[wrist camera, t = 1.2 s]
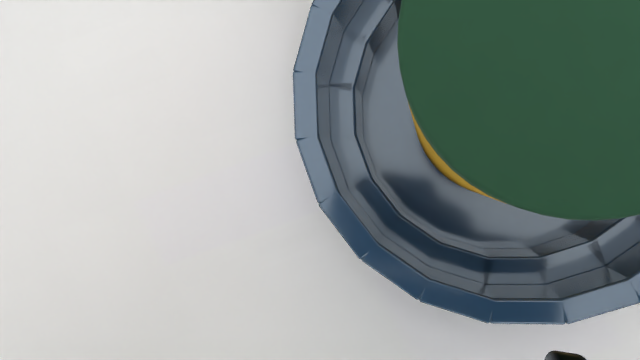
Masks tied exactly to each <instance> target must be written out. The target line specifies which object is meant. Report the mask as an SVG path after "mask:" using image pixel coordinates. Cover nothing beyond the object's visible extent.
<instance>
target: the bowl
mask: <svg viewBox="0 0 640 360" xmlns="http://www.w3.org/2000/svg"><path fill="white" fill-rule="evenodd" d="M401 1H402V0H314V1H313V2H312V6H311V8H310V11H309V15H308V18H307V22H306V26H305V29H304V33H303V36H302V40H301V44H300V47H299V51H298V55H297V58H296V62H295V65H294V69H293V70H294V72H293V94H294V123H295V139H296V143H297V146H298V149H299V152H300V155H301V157H302V160H303V163H304V166H305V169H306V172H307V174H308V177H309V180H310V183H311V186H312V188H313V191H314V194H315V197H316V200H317V202H318V203H319V206H320V208H321V209H322V210H323V212H324V213H325V214H326V216H327V217H328V218H329V220H330V221H331V222H332V224H333V225H334V226H335V228H336V229H337V230H338V231H339V233H340V234H341V235H342V237H343V238H344V239H345V241H346V242H347V243H348V245H349V246H350V247H351V249H352V250H353V251H354V252H355V254H356V255H357V256H358V258H359V259H361V260H362V261H363V262H364V263H366V264H367V265H368V266H370V267H371V268H373V269H374V270H376V271H377V272H378V273H380V274H381V275H383V276H384V277H385V278H387V279H388V280H390V281H391V282H393V283H394V284H395V285H397V286H398V287H400V288H401V289H402V290H404V291H405V292H407V293H408V294H410V295H411V296H412V297H414V298H415V299H417V300H420V302H423V303H426V304H429V305H432V306H435V307H438V308H442V309H445V310H448V311H451V312H454V313H457V314H460V315H463V316H466V317H469V318H473V319H476V320H479V321H482V322H485V323H492V324H556V325H563V324H565V323H567V324H570V323H574V322H577V321H580V320H584V319H587V318H591V317H594V316H597V315H601V314H604V313H607V312H611V311H614V310H618V309H621V308H624V307H628V306H631V305H634V304H638V303H640V215H635V216H630V217H625V218H620V219H608V220H595V221H592V220H569V219H562V218H556V217H550V216H544V215H540V214H537V213H533V212H530V211H527V210H523V209H520V208H517V207H514V206H511V205H509V204H506V203H503V202H501V201H498V200H495V199H492V198H490V197H487V196H484V195H481V194H479V193H476V192H473V191H471V190H468V189H466V188H464V187H461V186H459V185H458V184H456V183H454V182H453V181H451V180H449V179H448V178H447V177H446V176H444V175H443V174H442V173H441V172H440V171H439V170H438V169H437V168H436V167H435V166H434V165H433V164H432V162H431V161H430V160H429V158H428V157H427V155H426V153H425V152H424V150H423V148H422V146H421V144H420V141H419V138H418V136H417V132H416V129H415V125H414V122H413V118H412V114H411V111H410V107H409V104H408V100H407V97H406V93H405V89H404V85H403V81H402V77H401V72H400V67H399V57H398V47H397V40H398V20H399V13H400V7H401Z"/></svg>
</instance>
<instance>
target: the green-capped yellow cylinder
mask: <svg viewBox="0 0 640 360" xmlns="http://www.w3.org/2000/svg"><path fill="white" fill-rule="evenodd" d="M397 47H398V57H399V67H400V72H401V77H402V81H403V85H404V89H405V93H406V97H407V100H408V104H409V107H410V111H411V114H412V118H413V122H414V125H415V129H416V132H417V136H418V138H419V141H420V144H421V146H422V148H423V150H424V152H425V153H426V155H427V157H428V158H429V160H430V161H431V162H432V164H433V165H434V166H435V167H436V168H437V169H438V170H439V171H440V172H441V173H442V174H443V175H444V176H446V177H447V178H448V179H449V180H451V181H453V182H454V183H456V184H458V185H459V186H461V187H464V188H466V189H468V190H471V191H473V192H476V193H479V194H481V195H484V196H487V197H490V198H492V199H495V200H498V201H501V202H503V203H506V204H509V205H511V206H514V207H517V208H520V209H523V210H527V211H530V212H533V213H537V214H540V215H544V216H550V217H556V218H562V219H569V220H592V221H595V220H608V219H620V218H625V217H630V216H635V215H640V0H402V1H401V7H400V13H399V20H398V40H397Z"/></svg>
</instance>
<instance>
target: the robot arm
mask: <svg viewBox="0 0 640 360" xmlns="http://www.w3.org/2000/svg"><path fill="white" fill-rule="evenodd" d="M544 360H586V359H585V358H584V357H582V356H581V355H578V354H573V353H566V352H560V351H551V352H549V353H548V354H547V355H546V357H545V359H544Z"/></svg>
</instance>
